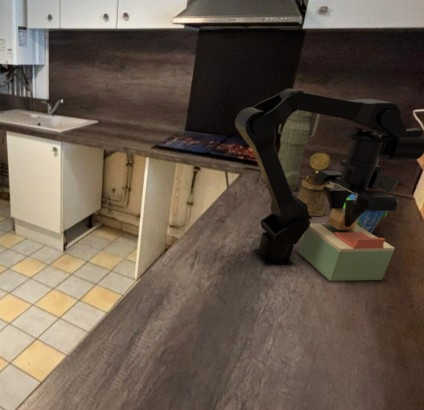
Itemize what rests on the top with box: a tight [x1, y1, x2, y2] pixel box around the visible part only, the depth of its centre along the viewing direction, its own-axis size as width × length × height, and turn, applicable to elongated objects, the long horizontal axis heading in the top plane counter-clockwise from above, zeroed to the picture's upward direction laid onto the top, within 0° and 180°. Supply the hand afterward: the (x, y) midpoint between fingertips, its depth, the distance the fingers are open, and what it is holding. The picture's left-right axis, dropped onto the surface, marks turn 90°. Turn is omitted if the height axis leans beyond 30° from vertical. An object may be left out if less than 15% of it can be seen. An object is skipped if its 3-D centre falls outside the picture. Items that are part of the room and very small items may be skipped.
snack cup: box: [343, 194, 388, 234], centre depth 102 cm, size 16×10×10 cm
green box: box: [298, 227, 394, 282], centre depth 85 cm, size 12×12×8 cm
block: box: [327, 209, 358, 230], centre depth 85 cm, size 4×4×4 cm
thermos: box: [277, 90, 322, 193], centre depth 129 cm, size 9×12×35 cm
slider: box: [334, 232, 386, 248], centre depth 80 cm, size 7×6×2 cm
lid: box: [309, 222, 396, 252], centre depth 83 cm, size 12×12×1 cm
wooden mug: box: [297, 150, 332, 217], centre depth 115 cm, size 9×14×18 cm, turn 149°
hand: (341, 222), depth 85 cm, fingers closed on block, 4 cm apart
